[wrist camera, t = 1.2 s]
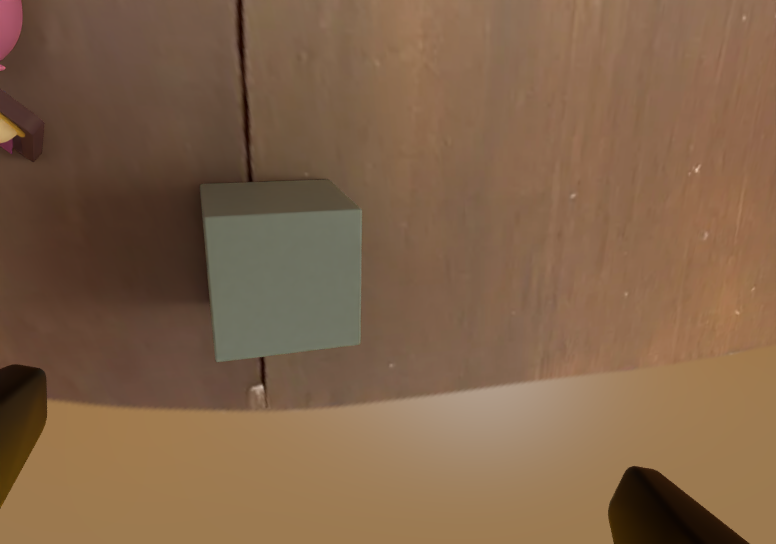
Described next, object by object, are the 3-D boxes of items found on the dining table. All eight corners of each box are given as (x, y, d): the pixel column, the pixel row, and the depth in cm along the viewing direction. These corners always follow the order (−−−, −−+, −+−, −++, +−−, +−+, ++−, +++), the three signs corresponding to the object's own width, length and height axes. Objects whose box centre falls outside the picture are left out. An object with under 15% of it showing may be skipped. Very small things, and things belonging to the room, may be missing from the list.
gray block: (209, 305, 21) (215, 363, 18) (199, 183, 20) (202, 217, 16) (330, 293, 23) (361, 345, 19) (329, 178, 21) (362, 208, 17)
